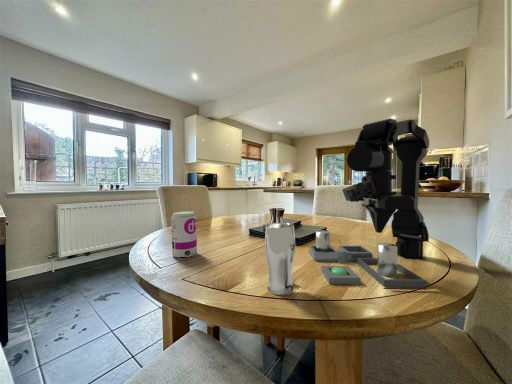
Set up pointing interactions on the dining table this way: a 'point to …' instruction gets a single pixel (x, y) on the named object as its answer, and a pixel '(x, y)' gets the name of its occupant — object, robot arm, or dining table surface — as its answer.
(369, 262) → the grey rectangular frame
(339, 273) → the button
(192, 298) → the dining table surface
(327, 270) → the button housing
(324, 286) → the dining table surface
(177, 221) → the supplement can
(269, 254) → the silver vase
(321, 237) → the seated billet
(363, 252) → the grey shallow tray
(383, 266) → the billet
